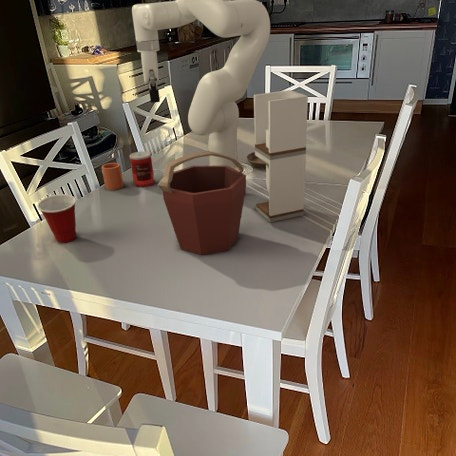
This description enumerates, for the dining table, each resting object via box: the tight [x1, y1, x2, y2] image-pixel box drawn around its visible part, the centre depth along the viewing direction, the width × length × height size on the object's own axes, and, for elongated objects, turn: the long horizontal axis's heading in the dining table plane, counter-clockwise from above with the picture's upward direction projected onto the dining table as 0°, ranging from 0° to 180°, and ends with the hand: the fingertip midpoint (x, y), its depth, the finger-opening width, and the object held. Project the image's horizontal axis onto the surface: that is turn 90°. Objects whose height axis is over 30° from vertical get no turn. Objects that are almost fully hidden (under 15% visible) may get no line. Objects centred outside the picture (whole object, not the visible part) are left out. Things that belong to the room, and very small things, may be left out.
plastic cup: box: [36, 193, 77, 244], centre depth 140 cm, size 11×11×12 cm
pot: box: [101, 162, 125, 191], centre depth 177 cm, size 7×7×8 cm
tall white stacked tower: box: [253, 89, 309, 223], centre depth 142 cm, size 11×11×35 cm
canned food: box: [129, 150, 155, 188], centre depth 177 cm, size 8×8×11 cm
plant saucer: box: [246, 151, 266, 169], centre depth 191 cm, size 18×18×3 cm
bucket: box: [157, 150, 247, 256], centre depth 131 cm, size 24×22×25 cm
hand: (154, 99), depth 171 cm, fingers open, 9 cm apart
